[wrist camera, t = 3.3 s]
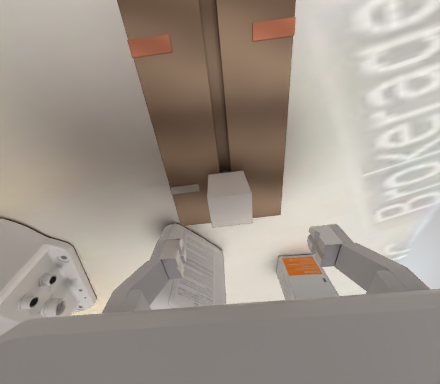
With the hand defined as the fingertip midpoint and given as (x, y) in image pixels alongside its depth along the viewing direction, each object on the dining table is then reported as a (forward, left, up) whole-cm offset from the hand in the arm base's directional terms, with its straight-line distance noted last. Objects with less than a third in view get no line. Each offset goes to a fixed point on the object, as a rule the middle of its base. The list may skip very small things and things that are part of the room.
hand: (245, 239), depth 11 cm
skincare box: (-18, -9, -12) cm, 23 cm away
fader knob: (0, +1, -10) cm, 10 cm away
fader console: (+6, +1, -12) cm, 13 cm away
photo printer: (-11, +7, -12) cm, 17 cm away
